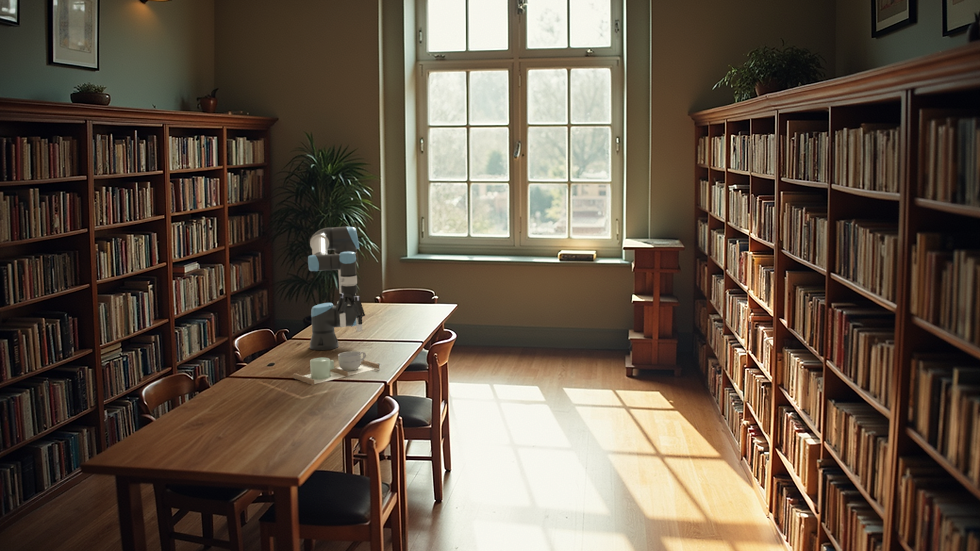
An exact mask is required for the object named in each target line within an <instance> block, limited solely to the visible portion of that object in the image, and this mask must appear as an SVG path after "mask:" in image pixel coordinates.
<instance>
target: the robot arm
mask: <svg viewBox="0 0 980 551" xmlns="http://www.w3.org/2000/svg"><path fill="white" fill-rule="evenodd" d="M309 244H310V245H309V246H310V249H311V253H312V254H311V255H308V256H307V264H308V270H309V271H310V272H318V271H319V272H323V271H338V287H339V288H338V290H339V295H338V297H339V298H338V301H336V302H337V303H336V305H334V304H333V303H332V302H324V303H318V304H317V305H316V304H315V305H314V306H312V307H311V312H310V317H311V329H312V330H311V331H312V333H311V338H310V341H309V349H311V350H313V351H329V350H333V349H334V350H335V349H337V348H338V347H339V340H338V338H337V335H336V333H335V328H346V327H348V328H349V327H356V332H363V318H364V317H365V316H366V313H365V310H364V306H363V305H362V301H361V296H360V295H357V293H358V285H357V284H358V275H357V256H356V254H357V253H358V250H359V249H360V242H359V238H358V233H357V228H356V227H354V226H336V227H324V228H321V229H319V230H317V231H316V232H315V233H313V234H312V236H311V237H310V239H309ZM329 251H334V252H333V253H334V254H332V253H331V254H329V253H328V252H329Z"/></svg>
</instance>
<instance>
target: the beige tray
mask: <svg viewBox="0 0 980 551" xmlns="http://www.w3.org/2000/svg"><path fill="white" fill-rule="evenodd" d="M380 369H381V368H380V363H377V362H374V361H370V360H366V359H364V360H363V361H362V362H361V365H360V367H359V368H358V369H356V370H352V371H344V370H343V369H342V368H340V366H338V367H335V366H334V369H331V370H330V372H331V377H329V378H327V379H320V380H316V379H312V378H311V373H309V374H305V375H301V374H299V373H296V372H295V373H293V379H295V380H298V381H301V382H304V383H306V384H309V385H311V386H312V385H316V384H321V383H325V382H329V381H333V380H337V379H340V378H341V379H342V378H344V377H350V376H352V375H353V376H354V375H357V374H362V373H366V372H369V371H371V372H379V371H380Z"/></svg>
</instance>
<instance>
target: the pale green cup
mask: <svg viewBox="0 0 980 551" xmlns="http://www.w3.org/2000/svg"><path fill="white" fill-rule="evenodd" d="M309 367H310V368H309V369H310V374H311V378H312V379H316V380H320V379H327V378H329V377H331V372H330V370H331V369H334V367H335V361H334V359H330V358H329V357H316V358H315V357H314V358H312V359H310V360H309Z"/></svg>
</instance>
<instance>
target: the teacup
mask: <svg viewBox="0 0 980 551" xmlns="http://www.w3.org/2000/svg"><path fill="white" fill-rule="evenodd" d="M362 354H363V356H362ZM337 356H338V357H337V358H338V359H337V360H338V365H339V366H338V367H340V368H342V369H343V370H344V371H352V370H356V369H358V368H359V367H360V365H361V362H362V361H363V360H366V357H367V355H366V352H365V351H363V350H362V351H357V350H351V351H344V352H340V353H338V354H337ZM361 356H362V357H361Z"/></svg>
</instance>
